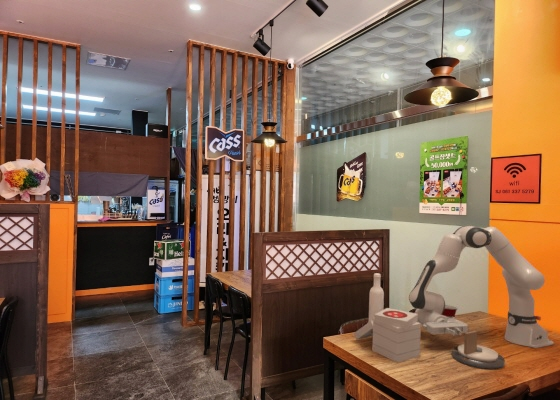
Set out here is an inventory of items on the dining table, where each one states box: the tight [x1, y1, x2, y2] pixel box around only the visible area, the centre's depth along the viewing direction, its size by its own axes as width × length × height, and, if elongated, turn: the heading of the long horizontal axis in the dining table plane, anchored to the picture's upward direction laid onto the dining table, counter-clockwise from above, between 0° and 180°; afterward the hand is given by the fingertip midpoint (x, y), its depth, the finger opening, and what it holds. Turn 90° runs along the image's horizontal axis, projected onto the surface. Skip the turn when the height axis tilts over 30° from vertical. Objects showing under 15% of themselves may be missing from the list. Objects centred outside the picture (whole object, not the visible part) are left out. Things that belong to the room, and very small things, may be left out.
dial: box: [457, 330, 499, 362], centre depth 171 cm, size 16×16×10 cm
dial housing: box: [451, 346, 506, 371], centre depth 171 cm, size 21×21×2 cm
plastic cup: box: [442, 304, 459, 318], centre depth 216 cm, size 11×11×12 cm
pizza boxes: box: [353, 307, 422, 363], centre depth 180 cm, size 19×30×18 cm, turn 31°
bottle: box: [367, 272, 385, 323], centre depth 210 cm, size 8×8×30 cm
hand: (457, 333), depth 177 cm, fingers closed
